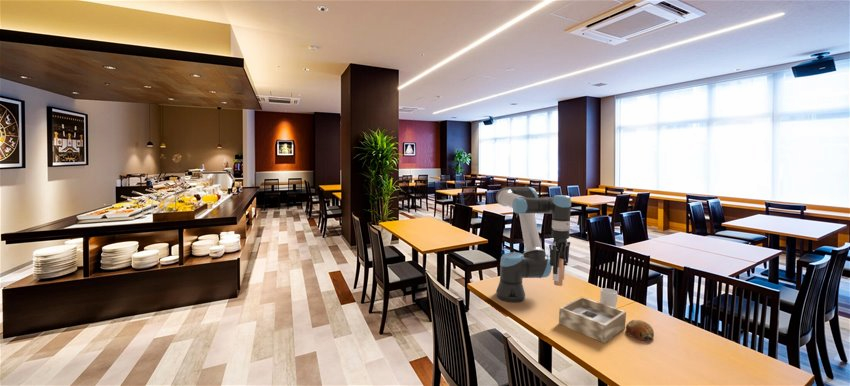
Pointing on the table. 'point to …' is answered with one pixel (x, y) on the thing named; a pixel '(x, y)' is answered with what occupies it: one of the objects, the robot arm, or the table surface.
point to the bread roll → (640, 330)
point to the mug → (608, 297)
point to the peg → (560, 273)
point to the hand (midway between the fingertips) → (558, 279)
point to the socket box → (592, 318)
